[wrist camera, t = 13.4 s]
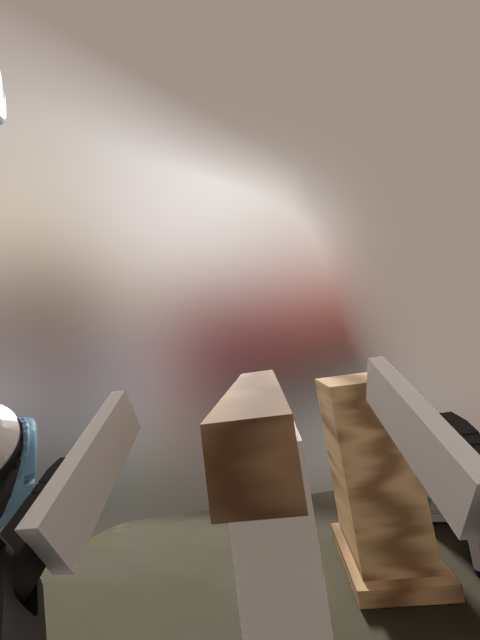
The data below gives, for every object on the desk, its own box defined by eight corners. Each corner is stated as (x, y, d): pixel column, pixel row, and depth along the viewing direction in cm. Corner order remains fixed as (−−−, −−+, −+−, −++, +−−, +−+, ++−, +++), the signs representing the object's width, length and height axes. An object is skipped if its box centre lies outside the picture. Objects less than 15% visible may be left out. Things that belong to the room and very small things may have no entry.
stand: (360, 609, 25) (322, 389, 28) (332, 536, 35) (306, 378, 38) (465, 602, 25) (417, 378, 27) (407, 529, 35) (375, 370, 37)
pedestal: (259, 779, 16) (219, 450, 19) (260, 615, 26) (234, 414, 28) (355, 777, 16) (302, 440, 18) (319, 612, 26) (288, 408, 28)
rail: (211, 524, 11) (200, 424, 11) (245, 405, 32) (241, 373, 33) (308, 515, 10) (292, 413, 11) (277, 401, 32) (272, 369, 33)
